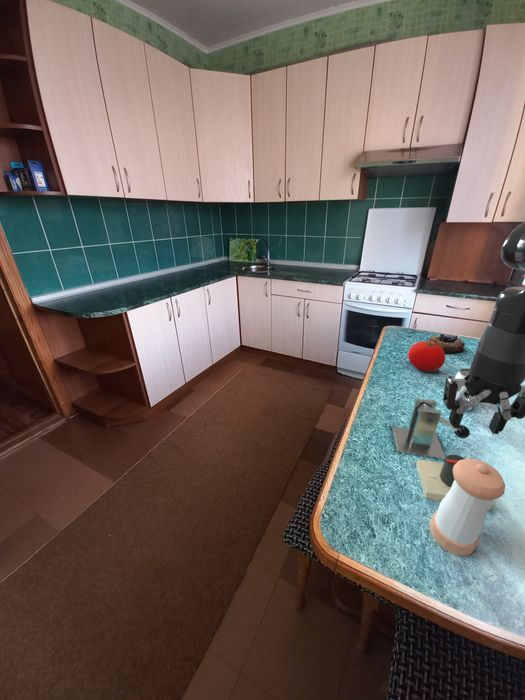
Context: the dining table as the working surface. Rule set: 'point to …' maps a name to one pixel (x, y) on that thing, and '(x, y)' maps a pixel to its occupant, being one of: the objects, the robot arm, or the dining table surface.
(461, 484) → the pepper shaker
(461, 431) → the tap lever
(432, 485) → the dial panel
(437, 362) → the tomato
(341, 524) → the dining table surface
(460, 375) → the can
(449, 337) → the pastry
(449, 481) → the dial knob
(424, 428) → the bracket
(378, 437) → the dining table surface
